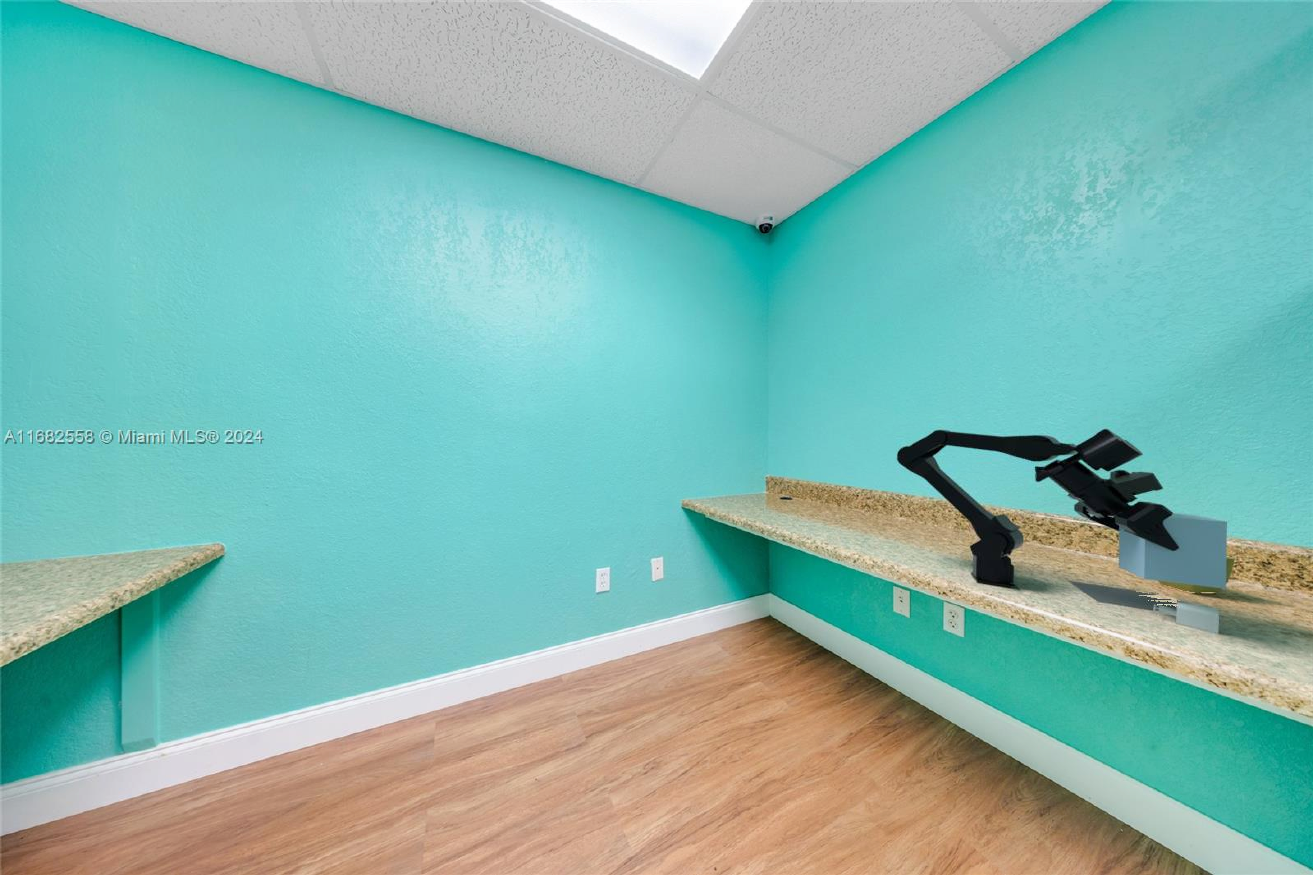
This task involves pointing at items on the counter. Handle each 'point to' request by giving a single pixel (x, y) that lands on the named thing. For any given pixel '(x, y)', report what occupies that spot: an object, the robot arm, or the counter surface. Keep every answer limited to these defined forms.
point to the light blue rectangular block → (1180, 552)
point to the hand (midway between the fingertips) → (1160, 544)
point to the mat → (1121, 596)
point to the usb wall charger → (1193, 616)
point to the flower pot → (1202, 588)
